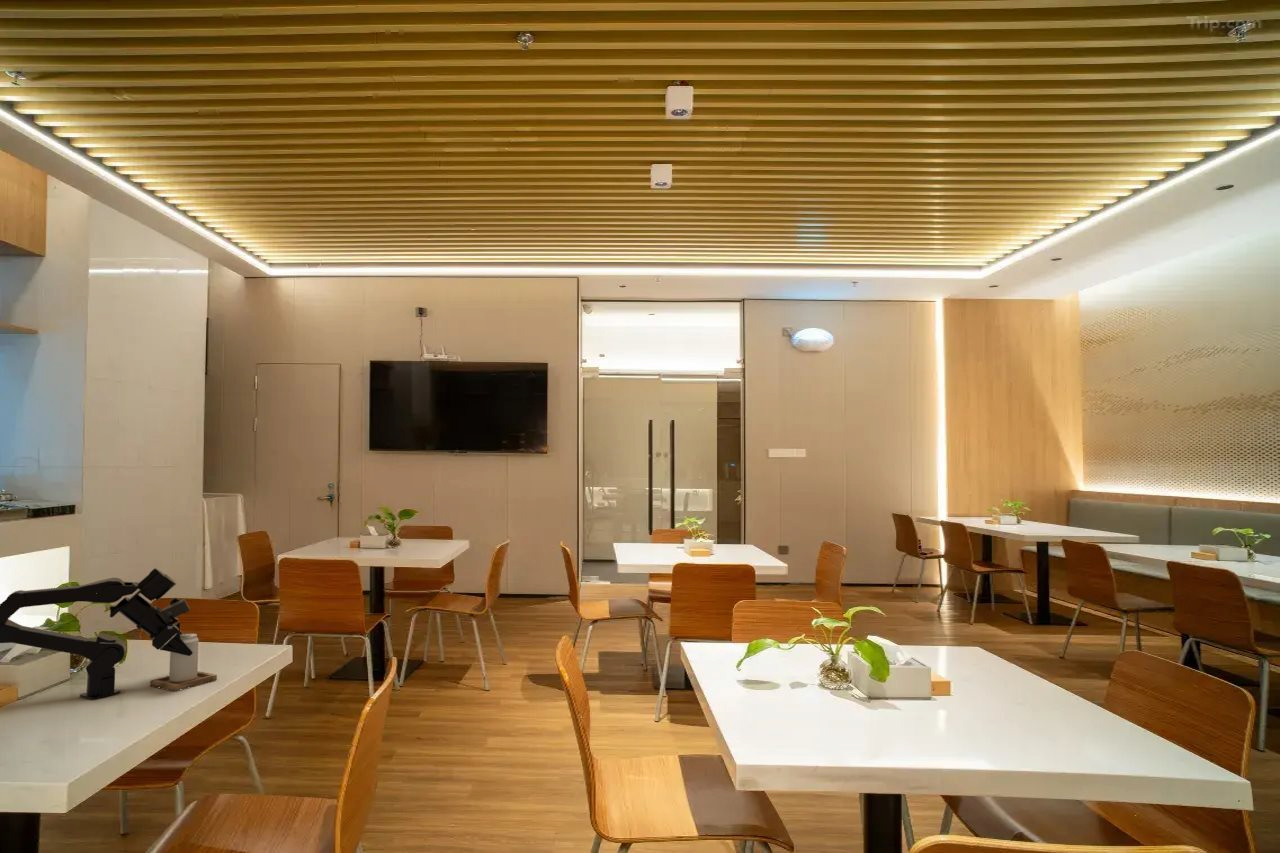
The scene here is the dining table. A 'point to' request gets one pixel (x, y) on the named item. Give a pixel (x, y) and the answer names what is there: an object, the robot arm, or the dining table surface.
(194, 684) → the tray
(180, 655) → the beverage can
